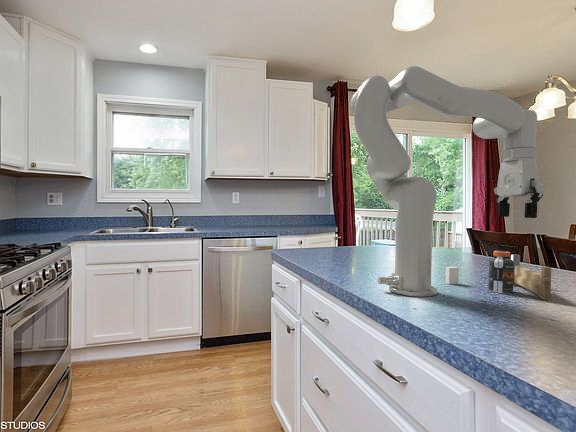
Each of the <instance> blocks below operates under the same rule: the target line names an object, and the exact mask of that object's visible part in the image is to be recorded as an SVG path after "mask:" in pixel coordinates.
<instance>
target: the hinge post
mask: <svg viewBox="0 0 576 432" xmlns="http://www.w3.org/2000/svg"><path fill="white" fill-rule="evenodd" d="M510 259H511V260H513V262H514V280H513V287H522V286H521V285H519V284H517V283H515V266H521V255H520V254H516V253H515V254H514V253H513V254H511V253H510Z"/></svg>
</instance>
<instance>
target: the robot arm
mask: <svg viewBox="0 0 576 432" xmlns="http://www.w3.org/2000/svg"><path fill="white" fill-rule="evenodd" d="M411 103H414V104H416V105H418V106H419V107H421V108H424V109H426V110H428V111H430V112H432V113H434V114H436V115H438V116H441V117H451V118H452V117H453V118H454V117H471V118H472V117H473V118H475V120H474V121H473V124H472V131H473V133H474V135H476V137H478V138H481V139H484V140H491V139H501V138H502V139H503V158H502V159H503V160H502V161H503V162H501V164H500V167H499V171H498V177H497V178H498V179H497V186H496V187H494V189H493V192H494V194H495V199H496V203H497V204H498V205H497V206H498V209H497V212H498V213H497V216H498V217H501V218H502V217H503V218H504V217H505V218H509V216H510V208H511V206H510V205H511V204H510V200H511V199H512V197H515V198H516V197H517V198H518V197H524V199H525V201H526V202H525V203H524V218H525V219H536V218H537V217H538V204H539V203H540V202H541V199H542V197H543V196H544V193H545V191H546V189H547V186H546V185H545V184H544V183H541V182H539V170H538V169H539V167H538V163H537V162H538V161H537V159H536V153H537V152H536V150H537V134H538V133H537V130H538V113H537V112H536V111H535V110H532V109H524V108H523V106H521V104H519V103H517V102H516V101H514V100H512V99H511V98H509V97H507V96H505V95H502V94H500V93H498V92H495V91H493V90H492V91H491V90H487V89H486V90H485V89H479V88H474V87H473V88H472V87H466V86H460V85H457V84H455V83H454V82H451V81H449V80H447V79H445V78H442V77H441V76H439V75H437V74H435V73H433V72H430V71H429V70H426V69H424V68H423V67H419V66H417V65H411V66H408V67H406V68H404V69H403V70H401V72H400V73H398V74H397V75H396V76H395V77H394V78H393V79H391V80H389V81H388V79H386V78H385V77H384V76H382V75H373V76H371V77H369V78H367V79H365V80H364V81H363V83H362V84H361V85H360V86H359V87H358V89H357V91H356V92H355V93H354V94H353V96H352V97H351V100H350V110H351V113H352V114H353V117H354V118H353V120H354V128H355V132H356V134H357V136H358V139H359V141H360V142H361V144H362V146H363V147H364V149H365V151H366V152H367V154H368V157H367V160H366V172H367V175H368V176H369V178H370V180H371V181H372V183H373V184H374V186H375V187H376V189H377V190H378V192H379V193H380V195H381V196H382V197H383V200H384V201H385V202H386V203H387V204H388V206H389V207H391V208H392V209H394V210H395V211H397V214H396V219H395V242H394V243H395V247H394V251H395V252H394V253H395V254H394V272H391V275H389V276H386V277H385V276H378V277H377V283H378V285H386V286H388V290H389V291H390V292H391V293H394V294H398V295H402V296H407V297H408V296H409V297H421V298H422V297H423V298H424V297H432V296H436V295H437V294H438V288H437V287H435V286H432V266H433V265H432V262H433V259H432V257H433V256H432V255H433V224H434V221H433V219H434V214H435V208H436V203H437V190H436V187H435V185H434V183H433V182H432V181H431V180H429V178H428V179H427V178H426V177H423V176H418V175H417V176H409V177H408V176H407V172H409V170H410V168H411V165H412V164H411V163H412V161H411V157H410V154H409V153H408V151H407V149H406V148H405V147H404V145H403V144H402V142H401V141H400V139H399V138H398V136H397V135H396V133H395V132H394V131H393V129H392V127H391V125H390V123H389V121H388V117H387V113H390V112H393V111H396V110H399V109H401V108H404V107H406V106H408V105H409V104H411Z"/></svg>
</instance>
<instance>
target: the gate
mask: <svg viewBox="0 0 576 432" xmlns="http://www.w3.org/2000/svg"><path fill="white" fill-rule="evenodd" d="M515 283H517V284H519V285H521V286H520V287H522V288H525V289H527V290H529V291H531V292H533V293H534V294H536V295H538V296H540V299H542V300H547V301H548V300H549V301H550V300H551V293H552V292H551V291H552V287H551V286H552V267H550V266H541V273H539V272H537V271H534V270H533V269H529V268H527V267H525V266H522V265H520V266H515Z"/></svg>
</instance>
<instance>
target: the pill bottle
mask: <svg viewBox="0 0 576 432" xmlns="http://www.w3.org/2000/svg"><path fill="white" fill-rule="evenodd" d="M492 253H493V254H492V255H493V257H491V258H489V261H488V286H487V287H488V290H489V291H490V292H493V293H496V294H497V293H498V294H504V295H505V294H508V295H509V294H512V293H514V286H513V280H514V262H513V260H511V252H510V251H508V250H507V251H506V250H494V251H493V252H492Z"/></svg>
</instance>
